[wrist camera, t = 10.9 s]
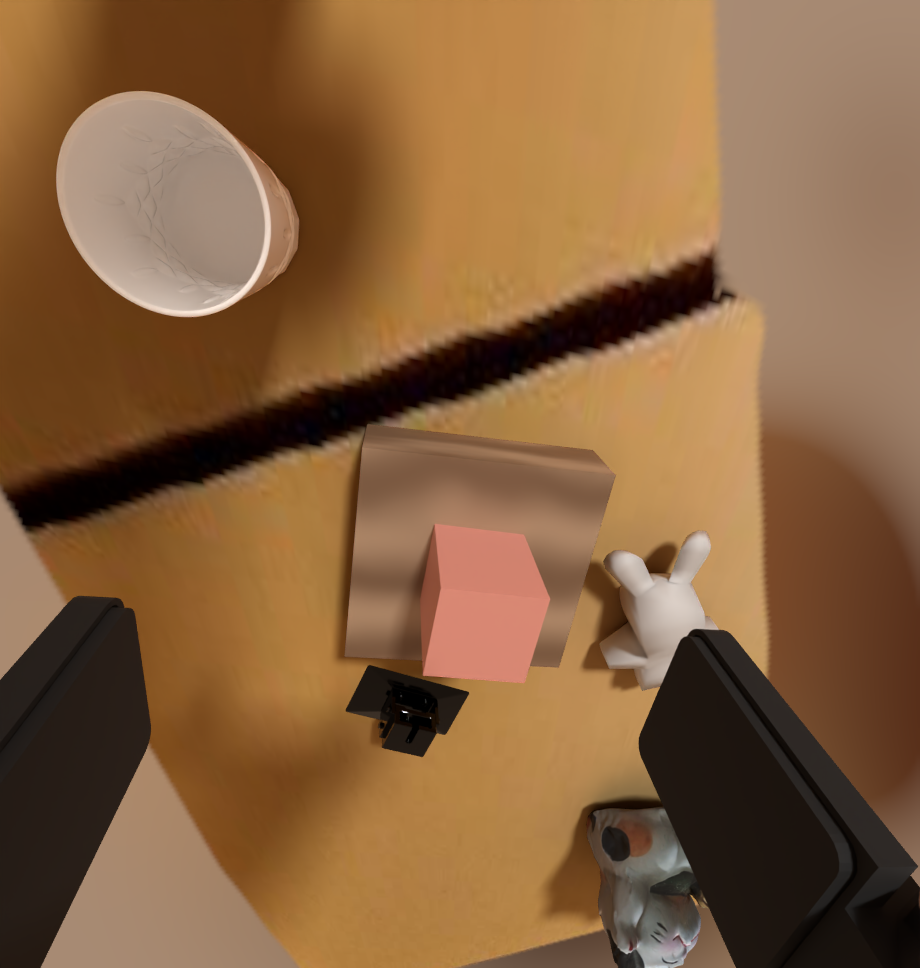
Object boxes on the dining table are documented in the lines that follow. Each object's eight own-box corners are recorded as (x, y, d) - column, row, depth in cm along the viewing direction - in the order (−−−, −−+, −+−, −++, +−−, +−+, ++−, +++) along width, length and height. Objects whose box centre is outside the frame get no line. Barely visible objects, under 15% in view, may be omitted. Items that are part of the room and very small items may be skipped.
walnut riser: (367, 421, 36) (362, 447, 31) (590, 447, 38) (615, 475, 34) (351, 612, 42) (344, 656, 38) (543, 624, 44) (558, 667, 40)
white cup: (328, 181, 29) (294, 153, 20) (289, 317, 32) (243, 346, 23) (180, 111, 27) (70, 45, 18) (152, 262, 30) (43, 270, 21)
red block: (434, 523, 34) (441, 588, 27) (524, 534, 35) (550, 599, 28) (419, 599, 36) (422, 675, 30) (504, 608, 37) (524, 683, 31)
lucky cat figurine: (726, 814, 57) (762, 991, 48) (618, 814, 63) (634, 972, 54) (683, 790, 48) (719, 1004, 39) (561, 793, 53) (570, 980, 45)
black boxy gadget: (488, 685, 47) (497, 728, 43) (455, 741, 49) (460, 786, 45) (355, 648, 44) (350, 690, 40) (326, 710, 46) (318, 756, 42)
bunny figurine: (617, 715, 43) (607, 583, 36) (596, 665, 48) (583, 537, 40) (728, 688, 43) (743, 550, 36) (697, 641, 48) (704, 508, 40)
